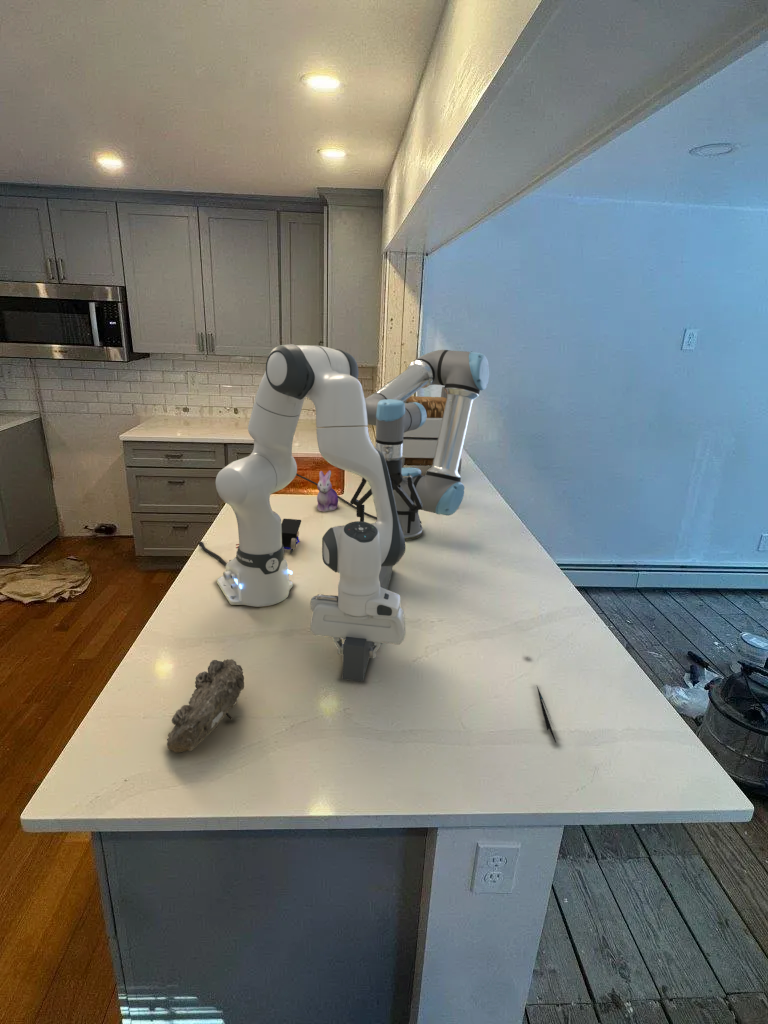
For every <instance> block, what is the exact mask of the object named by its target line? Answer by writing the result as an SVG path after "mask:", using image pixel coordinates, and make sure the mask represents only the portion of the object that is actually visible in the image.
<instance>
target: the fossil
mask: <svg viewBox="0 0 768 1024" xmlns="http://www.w3.org/2000/svg"><path fill="white" fill-rule="evenodd" d="M243 670H244V669H243V667H242V665H240V664H237V662H236V661H235V660H234V659H232V658H231V659H227V658H226V659H224V660H223V661H222V660H217V659H212V660H211V661H210V663H209V665H208V666H207V671H201V672H199V673H198V674H197V675H196V676H195V680H194V684H195V685H194V687H195V689H194V690H193V693H192V694H191V697H190V698H189V700H188V704H184V705H182V706H181V707H180V709H177V710H176V711H175V713H174V715H173V716H172V718H171V723H172V724H173V727H172V730H171V731H170V732H168V734H167V738H166V741H167V742H166V745H167V749H168V750H169V751H173V752H174V753H176V754H178V753H182V752H188V751H189V752H192V751H193V750H195V748H196V747H197V746H199V744H200V743H201V742H203V741H204V740H205V739H206V738H207V737H208V736H209V735H210V734H211V733H212V732H214V730H215V729H217V727H218V726H219V724H220V722H221V721H222V720H223V719H224V718H225V716H226V717H227V719H229V720H233V717H232V715H230V714H229V710H230V709H231V708H234V706H235V704H236V703H237V702H238V699H239V697H240V695H241V693H242V691H243V690H245V689H244V688H245V675H244V671H243Z"/></svg>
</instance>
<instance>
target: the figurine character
mask: <svg viewBox="0 0 768 1024" xmlns="http://www.w3.org/2000/svg"><path fill="white" fill-rule="evenodd" d="M301 523H302V519H297V518H295V519H294V518H283V519H282V520H281V525H282V544H283V547H284V550H290V551H289V553H290V554H293V552H294V550H296V549H297V545H298V544H300V542H301V541H300V539H299V536H300V531H299V529H300V527H301Z"/></svg>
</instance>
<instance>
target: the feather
mask: <svg viewBox="0 0 768 1024" xmlns="http://www.w3.org/2000/svg"><path fill="white" fill-rule="evenodd" d="M527 659H529V657H527ZM536 688H537V692H538V697H539V703H540V706H541V711H542V715H543V719H544V722H545V727H546V731H549V732H550V734H551V737H552V738H553V740H554V742H555V743H557V740H556V738H555V735H554V732H553V729H555V728H556V727H555V725H553V726H551V724H553V720H552V718H551V714H550V713H549V711H548V708H547V705H546V703H545V701H544V698H543V696H542V694H541V691H540V689H539V687H538V686H536ZM550 722H551V723H550ZM552 727H553V729H552Z"/></svg>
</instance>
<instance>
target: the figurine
mask: <svg viewBox="0 0 768 1024" xmlns="http://www.w3.org/2000/svg"><path fill="white" fill-rule="evenodd" d="M318 473H319V475H318V476H319V481H318V482H317V484H318V485H316V486H317V490H318V493H317V495H316V502H317V506H316V508H317V511H319V512H331V511H335V510H336V509H338V506H339V498H338V496H339V494H338V493H337V491H336V490H335V489H334V488H332V487H333V485H332V482H331V480H330V479H331V476H332V470H330V469H329V470H328V471H327V472H326V474H325V473H324V472H323V471H322V470H320V471H319V472H318Z"/></svg>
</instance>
